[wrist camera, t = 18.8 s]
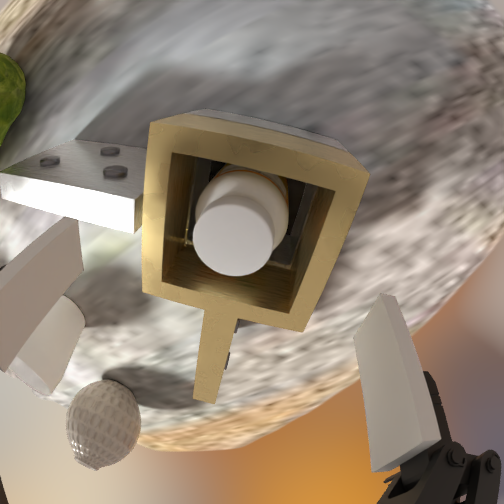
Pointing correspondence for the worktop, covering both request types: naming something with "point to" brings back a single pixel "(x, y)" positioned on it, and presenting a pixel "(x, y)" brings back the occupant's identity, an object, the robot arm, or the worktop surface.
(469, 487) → the robot arm
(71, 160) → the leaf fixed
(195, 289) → the beige square frame
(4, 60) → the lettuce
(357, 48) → the worktop surface
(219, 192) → the supplement bottle
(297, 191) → the worktop surface
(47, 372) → the cup
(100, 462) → the vase
